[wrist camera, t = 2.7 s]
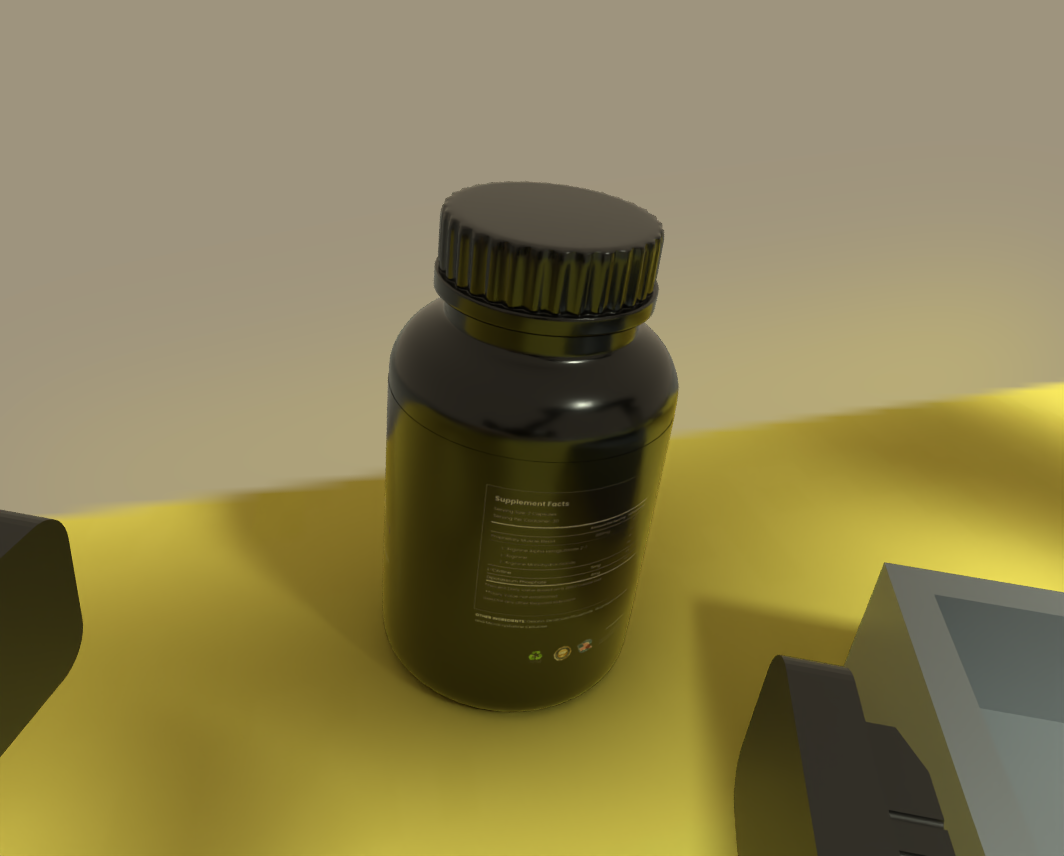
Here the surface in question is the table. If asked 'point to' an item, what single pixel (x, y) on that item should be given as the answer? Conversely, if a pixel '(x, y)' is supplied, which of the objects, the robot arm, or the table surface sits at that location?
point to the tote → (972, 700)
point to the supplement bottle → (525, 445)
